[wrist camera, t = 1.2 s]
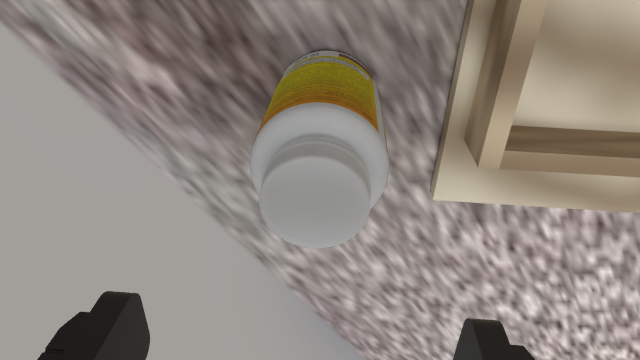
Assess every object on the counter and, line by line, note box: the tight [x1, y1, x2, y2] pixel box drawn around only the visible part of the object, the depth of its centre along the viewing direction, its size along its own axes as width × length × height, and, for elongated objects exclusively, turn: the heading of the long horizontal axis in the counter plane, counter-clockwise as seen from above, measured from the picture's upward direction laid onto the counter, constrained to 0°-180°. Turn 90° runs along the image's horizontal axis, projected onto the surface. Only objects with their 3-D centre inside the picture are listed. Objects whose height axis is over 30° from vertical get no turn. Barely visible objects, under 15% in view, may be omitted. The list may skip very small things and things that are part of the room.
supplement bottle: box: [250, 51, 389, 249], centre depth 20 cm, size 6×6×10 cm
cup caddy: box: [430, 0, 640, 213], centre depth 20 cm, size 19×13×4 cm
